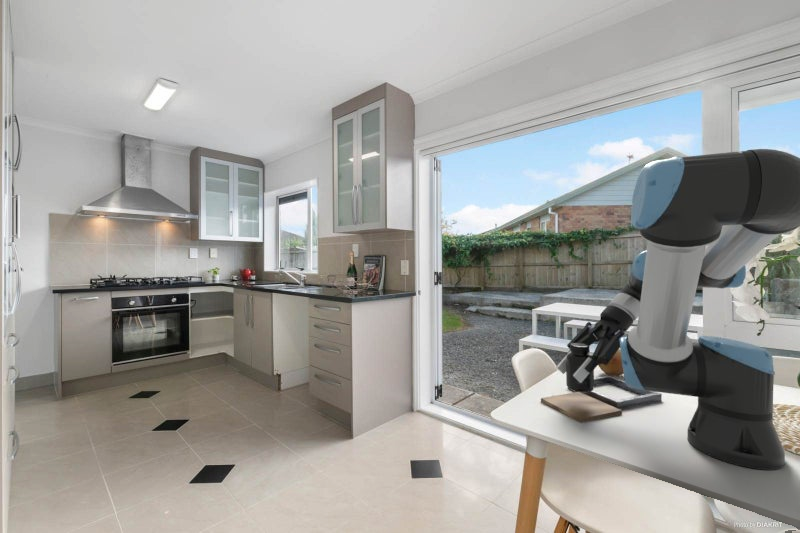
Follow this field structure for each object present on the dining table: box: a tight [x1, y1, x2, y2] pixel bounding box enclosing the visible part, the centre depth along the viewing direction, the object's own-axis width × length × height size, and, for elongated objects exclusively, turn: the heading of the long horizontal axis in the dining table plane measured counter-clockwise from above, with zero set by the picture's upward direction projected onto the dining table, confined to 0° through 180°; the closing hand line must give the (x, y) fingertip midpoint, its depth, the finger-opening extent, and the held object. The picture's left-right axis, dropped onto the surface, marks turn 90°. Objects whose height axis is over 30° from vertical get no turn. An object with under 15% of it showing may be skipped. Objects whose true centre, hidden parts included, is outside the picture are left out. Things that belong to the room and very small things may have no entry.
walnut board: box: [540, 391, 623, 423], centre depth 98 cm, size 14×14×1 cm
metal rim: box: [570, 375, 663, 410], centre depth 108 cm, size 17×17×2 cm
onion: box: [597, 348, 624, 377], centre depth 126 cm, size 10×10×10 cm
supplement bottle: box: [565, 343, 595, 392], centre depth 99 cm, size 7×7×12 cm
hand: (568, 374), depth 98 cm, fingers closed on supplement bottle, 7 cm apart
